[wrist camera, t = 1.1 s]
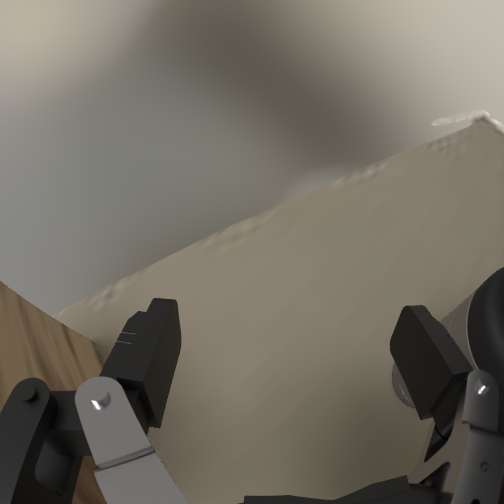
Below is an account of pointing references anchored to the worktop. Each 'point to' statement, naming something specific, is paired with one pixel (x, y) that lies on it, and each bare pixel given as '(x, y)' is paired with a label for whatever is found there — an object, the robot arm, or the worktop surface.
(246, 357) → the worktop surface
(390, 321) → the worktop surface
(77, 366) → the stand
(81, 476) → the tall wooden post
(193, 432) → the worktop surface
